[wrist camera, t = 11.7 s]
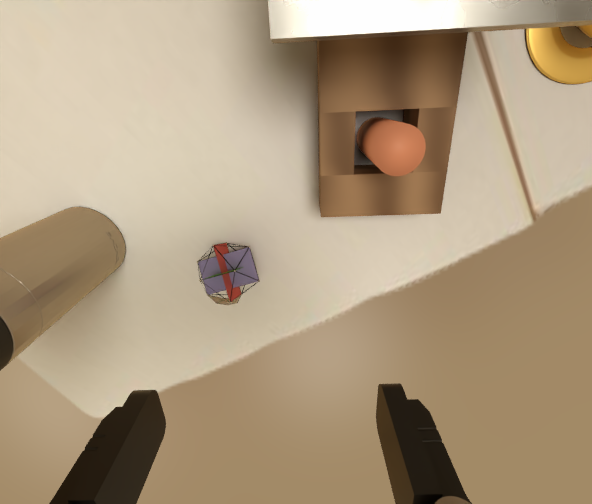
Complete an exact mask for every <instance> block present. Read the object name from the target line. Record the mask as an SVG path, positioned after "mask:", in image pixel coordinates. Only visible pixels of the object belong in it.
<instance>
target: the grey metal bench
mask: <svg viewBox="0 0 592 504" xmlns="http://www.w3.org/2000/svg"><path fill="white" fill-rule="evenodd" d="M268 8H269V24H270V39H271V41H272V42H273V43H290V42H307V41H325V40H342V39H359V38H376V37H394V36H411V35H428V34H445V33H463V32H480V31H497V30H514V29H531V28H549V27H566V26H583V25H592V0H268Z"/></svg>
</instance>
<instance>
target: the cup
mask: <svg viewBox="0 0 592 504" xmlns="http://www.w3.org/2000/svg"><path fill="white" fill-rule="evenodd" d="M577 27H578V28H579V29H580V30H581V31H582V32H583V33H584V34H585V35H587V36H588V37H590V38H592V25H583V26H577ZM526 41H527V47H528V51H529V54H530V56H531V59H532V61H533V62H534V64H535V66H536V67H537V68H538V69H539V70H540V72H542V73H543V74H544V75H545V76H547V77H548V78H550V79H552V80H554V81H557V82H560V83H565V84H580V83H586V82H590V81H592V47H589V48H577V47H574V46H572V45H570V44H569V43H567V42H566V41H565V39H564V38H563V36H562V34H561V30H560V27H549V28H531V29H526Z"/></svg>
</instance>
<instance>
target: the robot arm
mask: <svg viewBox="0 0 592 504" xmlns="http://www.w3.org/2000/svg"><path fill="white" fill-rule="evenodd" d="M124 257H125V243H124V240H123V237H122V235H121V233H120V231H119V230H118V228H117V227H116V226H115V225H114V224H113V222H112V221H111V220H109V219H108V218H107V217H105V216H104V215H102V214H101V213H99V212H97V211H95V210H92V209H89V208H83V207H72V208H68V209H65V210H63V211H60V212H58V213H56V214H53V215H51V216H49V217H47V218H44V219H42V220H40V221H37V222H35V223H33V224H31V225H28V226H26V227H24V228H22V229H19V230H17V231H15V232H13V233H10V234H8V235H6V236H4V237H1V238H0V370H1V369H3V368H4V367H5V366H6V365H7V364H8V363H9V362H11V361H12V360H13V359H14V358H15V357H16V356H18V355H19V354H20V353H21V352H22V351H23V350H24V349H26V348H27V347H28V346H29V345H30V344H31V343H32V342H34V340H36V339H37V338H38V337H39V336H40V335H41V334H43V333H44V332H45V331H46V330H47V329H48V328H49V327H51V326H52V325H53V324H54V323H55V322H56V321H57V320H59V319H60V318H61V317H62V316H63V315H64V314H65V313H67V312H68V311H69V310H70V309H71V308H72V307H73V306H75V305H76V304H77V303H78V302H79V301H80V300H81V299H83V298H84V297H85V296H86V295H87V294H88V293H89V292H91V291H92V290H93V289H94V288H95V287H96V286H98V285H99V284H100V283H101V282H102V281H103V280H104V279H106V278H107V277H108V276H109V275H110V274H111V273H112V272H113V271H115V270H116V269H117V268H118V267H119V266H120V265H121V263H122V262H123V260H124ZM376 422H377V429H378V434H379V438H380V442H381V446H382V450H383V454H384V458H385V462H386V466H387V470H388V475H389V479H390V483H391V486H392V491H393V495H394V499H395V503H396V504H472V503H471V502H470V501H469V499H468V498H467V496H466V494H465V492H464V490H463V488H462V485H461V483H460V481H459V478H458V476H457V474H456V472H455V469H454V467H453V465H452V462H451V460H450V458H449V456H448V453H447V451H446V448H445V446H444V444H443V443H442V439H441V437H440V435H439V432H438V431H437V429H436V425H435V423H434V421H433V419H432V416H431V414H430V412H429V411H428V410H427V409H426V408H425V406H424V405H423V404H422V403H421V402H420V401H419V400H418V399H417V400H407V398H406V395H405V392H404V390H403V387H402V385H401V384H379V386H378V397H377V410H376ZM165 428H166V421H165V416H164V413H163V409H162V406H161V403H160V399H159V396H158V393H157V391H156V390H138V391H133V392H131V394H130V395H129V397H128V398H127V400H126V402H125V403H124V405H123V407H116V408H115V409H114V410H113V411H111V412H110V413H109V414H108V415H107V416H106V417H105V418H104V419H103V420H102V421H101V423H100V425H99V426H98V428H97V429H96V431H95V433H94V434H93V437H92V438H91V439H90V440H89V442H88V444H87V445H86V447H85V450H84V451H83V452H82V453H81V455H80V456H79V458H78V459H77V461H76V463H75V464H74V466H73V467H72V469H71V471H70V472H69V474H68V475H67V477H66V478H65V480H64V482H63V483H62V485H61V486H60V488H59V490H58V491H57V493H56V495H55V496H54V498H53V499H52V500H51V502H50V504H136V503H137V500H138V498H139V496H140V493H141V491H142V489H143V486H144V483H145V481H146V479H147V476H148V474H149V471H150V469H151V466H152V464H153V462H154V459H155V457H156V454H157V452H158V450H159V447H160V444H161V442H162V440H163V437H164V434H165Z"/></svg>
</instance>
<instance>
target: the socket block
mask: <svg viewBox="0 0 592 504" xmlns="http://www.w3.org/2000/svg"><path fill="white" fill-rule="evenodd" d="M467 35H468V32H463V33H445V34H428V35H411V36H394V37H376V38H359V39H342V40H325V41H317V65H318V136H319V204H320V213H321V217H342V216H374V215H406V214H438V213H441V207H442V200H443V194H444V187H445V180H446V174H447V167H448V161H449V154H450V147H451V141H452V134H453V127H454V121H455V114H456V108H457V101H458V94H459V88H460V81H461V74H462V68H463V61H464V54H465V48H466V41H467ZM398 109H404V116H403V123H407V124H411V125H413V126H415V127H416V128H418V129H419V130H420V131H421V133H422V134H423V136H424V139H425V143H426V150H425V154H424V157H423V159H422V161H421V163H420V164H419V165H418V167H417V168H416V169H414V170H413V171H412V172H410V173H408V174H406V175H403V176H390V175H387V174H385V173H384V172H382V171H381V170H380V169H379V168H378V167H377V166H376V165H375V164H372V165H354V150H355V118H356V111H376V110H398Z"/></svg>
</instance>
